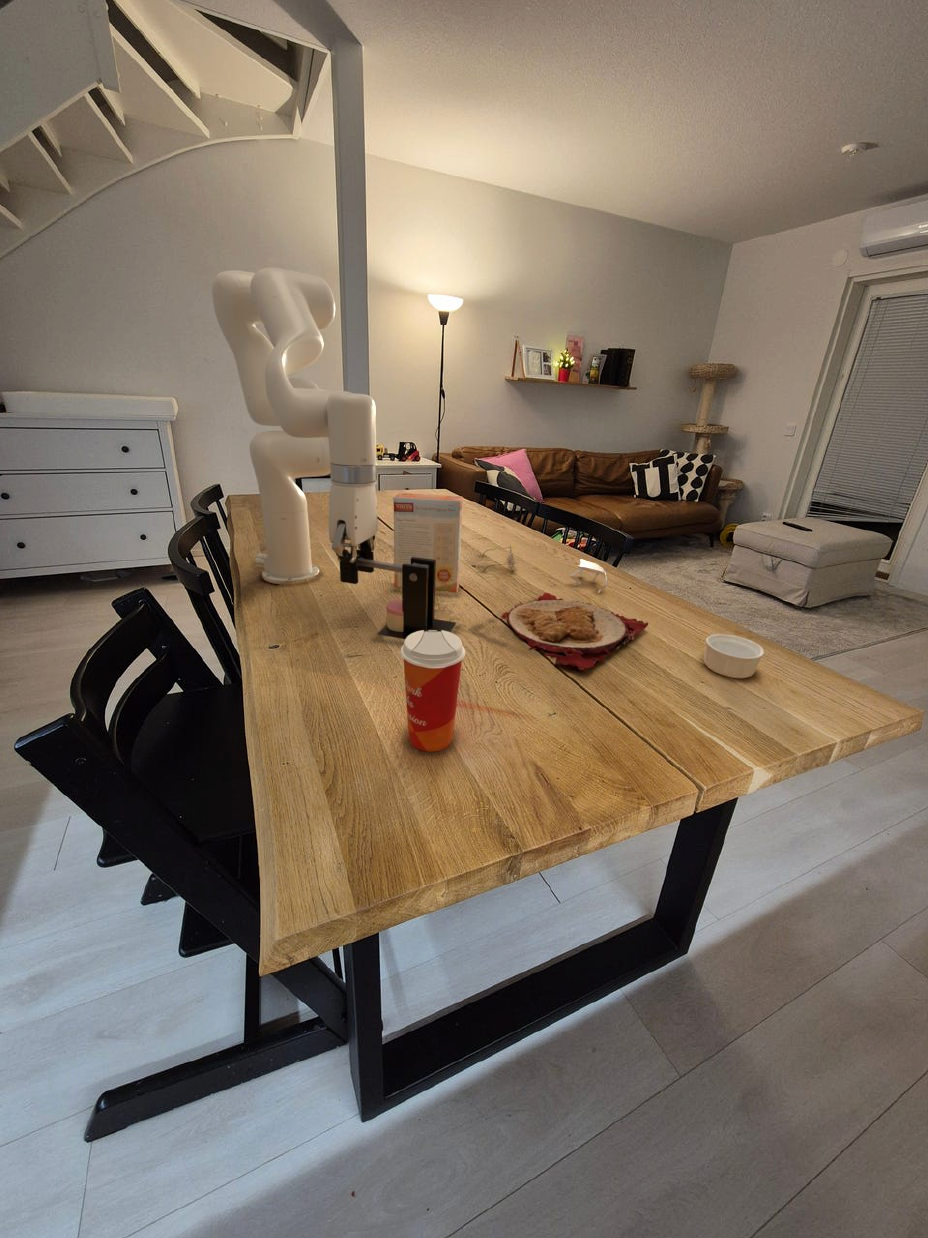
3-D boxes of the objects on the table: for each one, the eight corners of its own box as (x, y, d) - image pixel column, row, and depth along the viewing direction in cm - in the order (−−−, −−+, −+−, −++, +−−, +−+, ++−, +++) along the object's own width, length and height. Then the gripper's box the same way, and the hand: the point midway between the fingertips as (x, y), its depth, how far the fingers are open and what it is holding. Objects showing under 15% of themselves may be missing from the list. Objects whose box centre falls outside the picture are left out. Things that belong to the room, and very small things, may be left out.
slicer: (376, 640, 89) (375, 566, 83) (398, 618, 98) (398, 550, 92) (441, 651, 86) (443, 575, 81) (457, 628, 95) (460, 558, 90)
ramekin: (734, 685, 81) (741, 662, 79) (689, 660, 88) (694, 638, 86) (768, 674, 85) (776, 651, 83) (722, 651, 92) (728, 630, 90)
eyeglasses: (514, 574, 125) (514, 559, 124) (482, 575, 126) (482, 559, 124) (510, 557, 138) (510, 543, 136) (481, 558, 138) (481, 544, 137)
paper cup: (401, 720, 68) (401, 627, 62) (458, 719, 69) (463, 627, 63) (399, 758, 61) (399, 657, 55) (462, 757, 62) (468, 658, 56)
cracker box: (459, 587, 115) (464, 495, 107) (456, 596, 110) (461, 500, 101) (399, 582, 116) (399, 490, 108) (393, 591, 111) (392, 495, 102)
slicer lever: (345, 571, 88) (345, 558, 87) (359, 562, 93) (359, 549, 92) (421, 585, 85) (421, 571, 84) (431, 575, 90) (432, 562, 89)
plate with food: (647, 632, 98) (651, 615, 97) (583, 676, 80) (586, 657, 79) (545, 599, 112) (547, 584, 111) (471, 630, 94) (472, 613, 93)
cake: (381, 629, 91) (381, 608, 89) (393, 617, 95) (393, 597, 94) (410, 634, 89) (411, 613, 88) (421, 621, 94) (421, 602, 93)
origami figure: (558, 581, 122) (560, 562, 120) (581, 575, 127) (584, 557, 125) (597, 597, 113) (600, 577, 111) (620, 591, 118) (624, 571, 116)
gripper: (356, 466, 92) (360, 560, 99) (305, 479, 77) (314, 589, 84) (394, 469, 90) (395, 565, 98) (350, 484, 75) (354, 596, 83)
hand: (357, 575), depth 91 cm, fingers closed on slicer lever, 5 cm apart
